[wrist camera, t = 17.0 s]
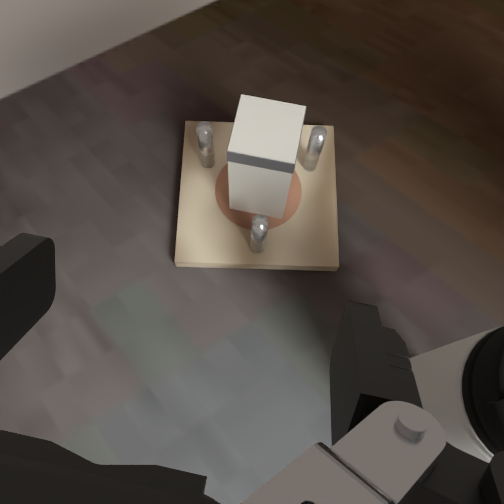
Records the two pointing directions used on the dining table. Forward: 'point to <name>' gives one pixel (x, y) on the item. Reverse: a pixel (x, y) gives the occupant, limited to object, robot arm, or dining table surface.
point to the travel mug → (466, 391)
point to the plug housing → (263, 154)
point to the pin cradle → (250, 224)
